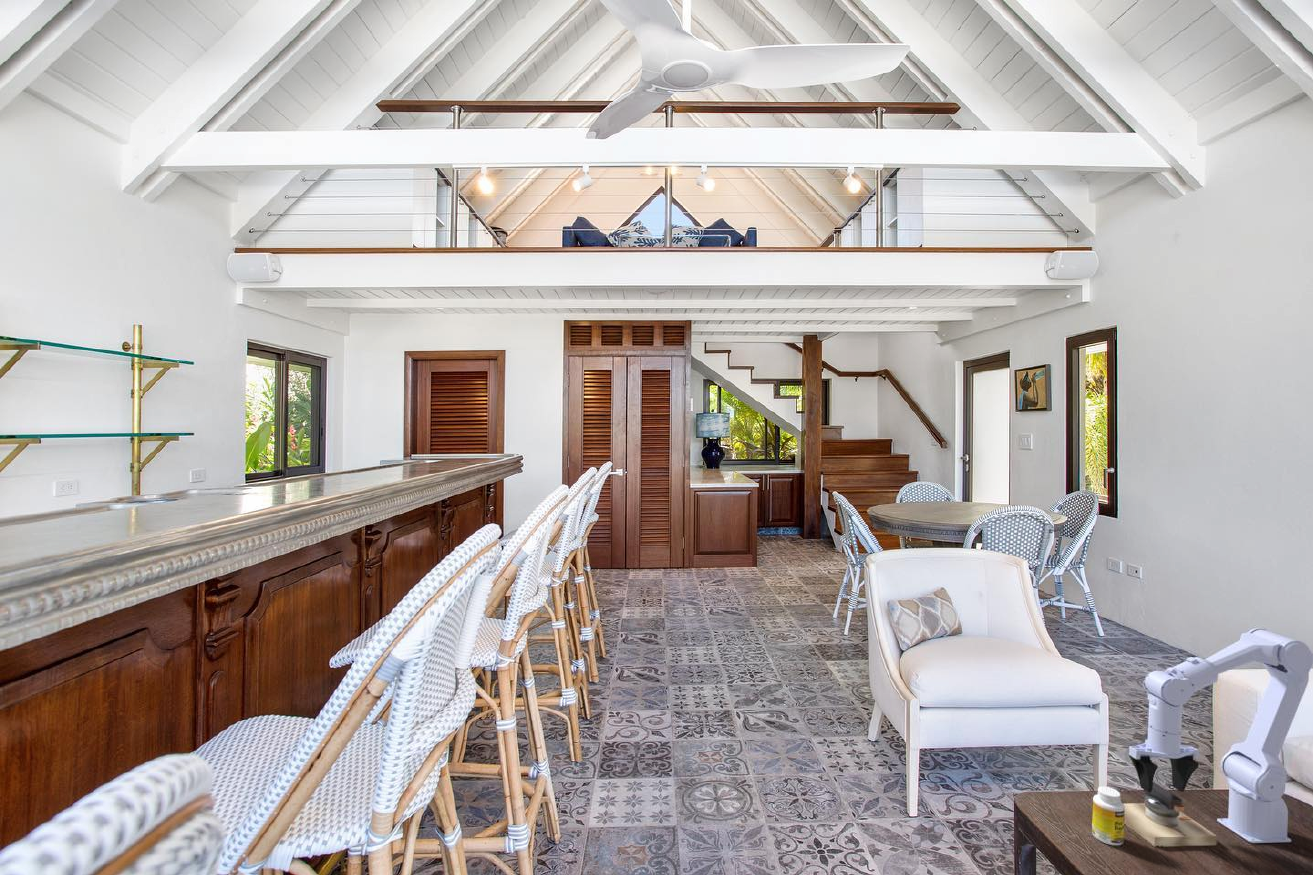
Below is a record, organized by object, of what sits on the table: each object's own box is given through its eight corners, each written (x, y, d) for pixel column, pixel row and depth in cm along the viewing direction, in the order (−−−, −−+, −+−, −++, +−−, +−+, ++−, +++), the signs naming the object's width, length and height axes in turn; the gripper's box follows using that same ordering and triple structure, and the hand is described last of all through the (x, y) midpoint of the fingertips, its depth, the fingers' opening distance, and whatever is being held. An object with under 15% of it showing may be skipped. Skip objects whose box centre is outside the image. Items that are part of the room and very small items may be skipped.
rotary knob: (1160, 799, 145) (1161, 781, 145) (1193, 821, 137) (1194, 802, 136) (1135, 799, 144) (1136, 782, 144) (1167, 822, 136) (1168, 803, 136)
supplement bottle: (1116, 850, 133) (1118, 801, 133) (1087, 835, 138) (1088, 788, 138) (1128, 841, 136) (1129, 793, 136) (1098, 827, 141) (1100, 781, 141)
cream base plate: (1167, 811, 148) (1167, 793, 147) (1216, 844, 136) (1217, 826, 136) (1109, 812, 146) (1110, 795, 146) (1154, 846, 135) (1155, 827, 134)
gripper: (1179, 719, 145) (1176, 779, 145) (1119, 720, 144) (1116, 779, 144) (1208, 734, 138) (1205, 796, 138) (1145, 735, 137) (1142, 797, 137)
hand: (1162, 789), depth 141 cm, fingers open, 7 cm apart
